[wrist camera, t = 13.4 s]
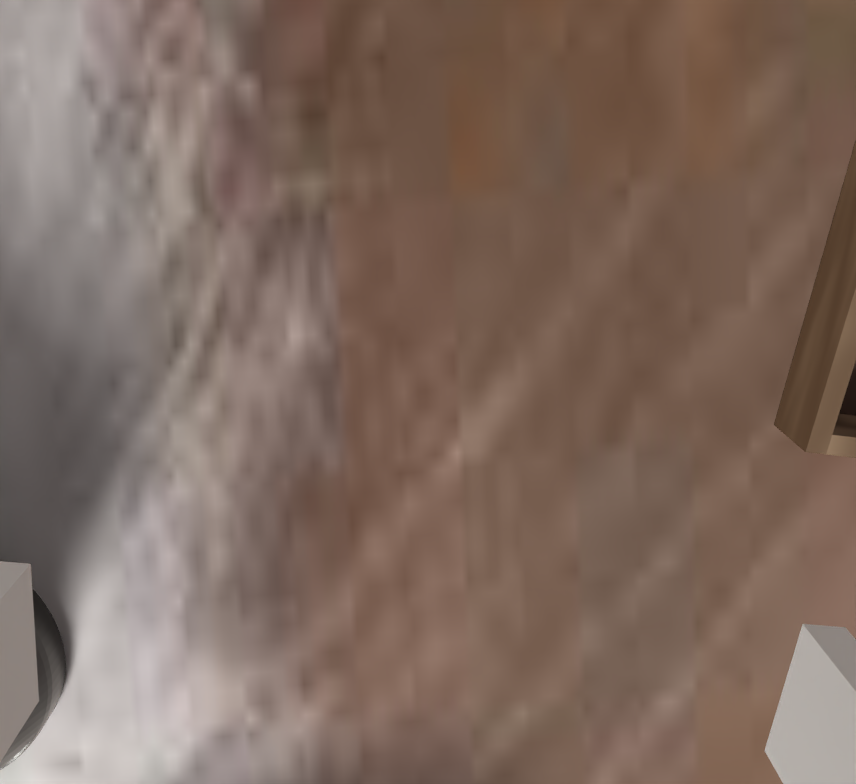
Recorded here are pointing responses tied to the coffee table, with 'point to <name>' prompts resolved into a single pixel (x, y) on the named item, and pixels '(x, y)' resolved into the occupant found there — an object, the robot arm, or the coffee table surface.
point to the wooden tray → (827, 343)
